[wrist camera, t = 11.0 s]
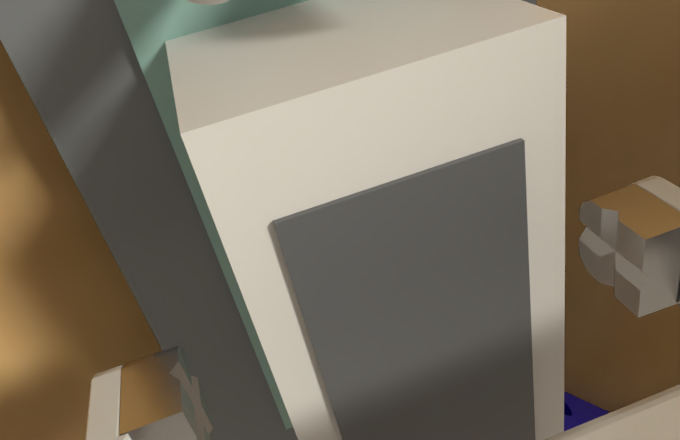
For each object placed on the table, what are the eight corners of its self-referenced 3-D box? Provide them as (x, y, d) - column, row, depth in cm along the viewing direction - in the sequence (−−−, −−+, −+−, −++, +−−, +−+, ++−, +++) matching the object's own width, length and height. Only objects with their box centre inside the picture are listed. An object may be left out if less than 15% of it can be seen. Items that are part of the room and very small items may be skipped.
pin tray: (498, -292, 11) (729, -395, 6) (528, 363, 20) (631, 494, 16) (-83, -158, 9) (-258, -179, 5) (238, 477, 19) (268, 651, 14)
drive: (424, -33, 11) (571, 17, 7) (468, 341, 17) (566, 480, 13) (165, 41, 11) (179, 137, 7) (298, 405, 16) (348, 572, 12)
